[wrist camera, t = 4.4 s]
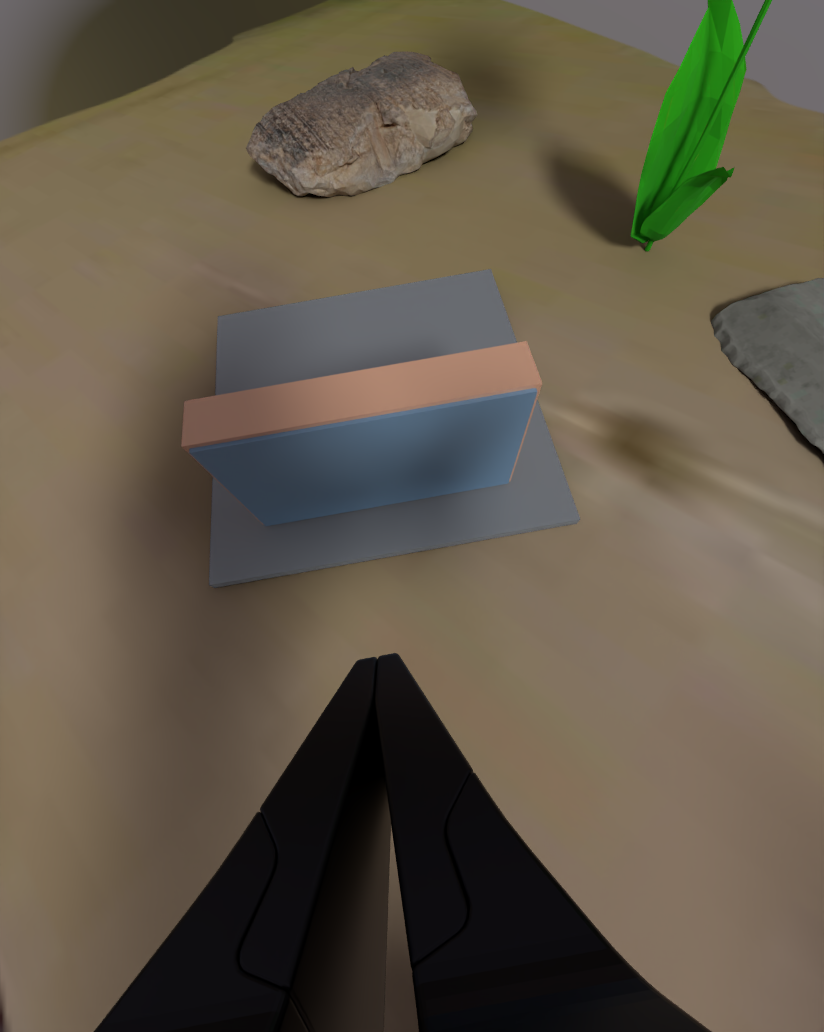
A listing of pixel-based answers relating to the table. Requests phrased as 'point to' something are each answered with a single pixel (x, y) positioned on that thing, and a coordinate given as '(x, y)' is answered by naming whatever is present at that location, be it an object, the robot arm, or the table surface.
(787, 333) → the stone slab
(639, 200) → the flower
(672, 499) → the table surface
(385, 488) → the tile
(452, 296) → the mat
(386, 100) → the clay tablet
